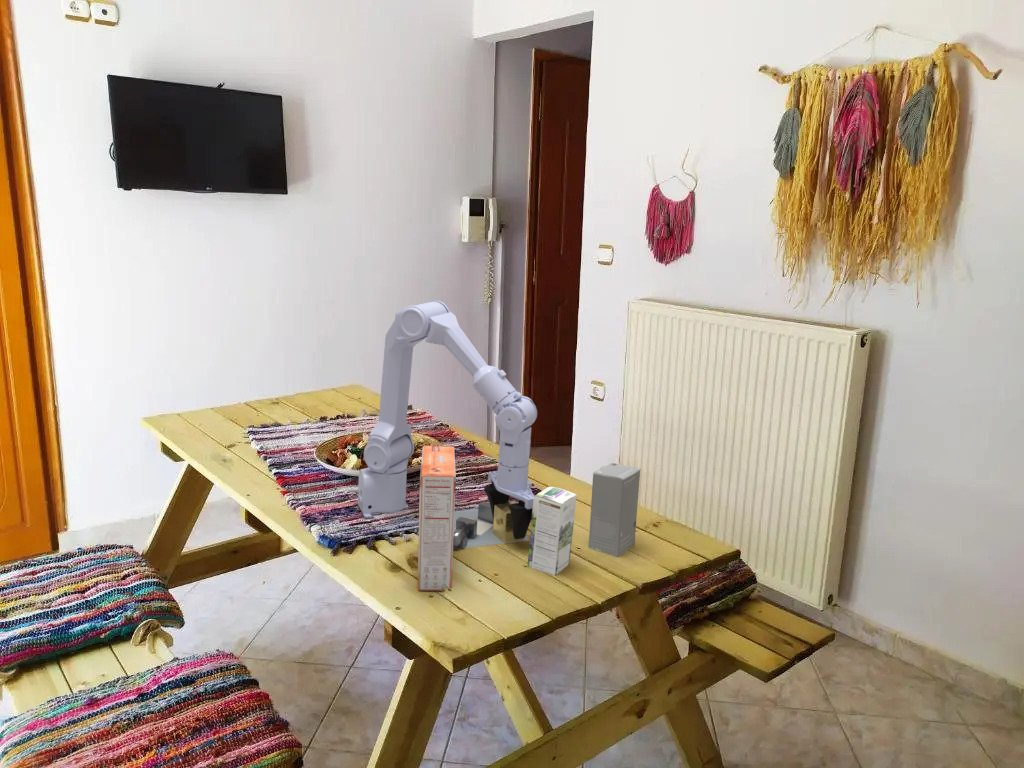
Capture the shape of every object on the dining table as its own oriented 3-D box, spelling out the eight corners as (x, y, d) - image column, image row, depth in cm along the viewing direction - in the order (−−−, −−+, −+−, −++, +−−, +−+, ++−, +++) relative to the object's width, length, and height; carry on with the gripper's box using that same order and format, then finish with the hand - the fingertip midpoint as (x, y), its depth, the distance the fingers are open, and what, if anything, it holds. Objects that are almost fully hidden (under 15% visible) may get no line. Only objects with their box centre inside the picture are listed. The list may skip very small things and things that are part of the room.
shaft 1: (459, 532, 153) (459, 516, 152) (476, 535, 152) (477, 520, 151) (443, 547, 146) (444, 531, 145) (461, 551, 145) (462, 535, 144)
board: (449, 553, 146) (449, 548, 146) (426, 517, 160) (426, 513, 160) (530, 544, 152) (530, 539, 151) (501, 510, 166) (501, 506, 166)
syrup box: (541, 558, 146) (547, 484, 143) (570, 567, 143) (577, 492, 140) (526, 570, 141) (532, 494, 138) (556, 580, 139) (562, 502, 135)
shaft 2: (492, 523, 157) (493, 508, 157) (477, 518, 159) (478, 503, 158) (513, 512, 163) (514, 497, 163) (499, 507, 165) (499, 493, 164)
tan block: (502, 543, 149) (504, 514, 148) (490, 534, 153) (492, 505, 151) (526, 538, 152) (528, 509, 150) (514, 529, 156) (516, 500, 154)
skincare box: (618, 561, 147) (626, 481, 143) (583, 550, 151) (590, 471, 147) (636, 545, 154) (645, 468, 150) (603, 534, 158) (610, 459, 154)
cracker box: (417, 553, 145) (421, 444, 140) (451, 553, 146) (456, 445, 141) (415, 592, 132) (419, 473, 126) (451, 592, 132) (457, 474, 127)
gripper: (553, 472, 145) (547, 541, 148) (511, 447, 157) (507, 511, 160) (519, 478, 141) (514, 548, 144) (480, 451, 153) (476, 517, 156)
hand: (508, 529), depth 152 cm, fingers open, 7 cm apart
